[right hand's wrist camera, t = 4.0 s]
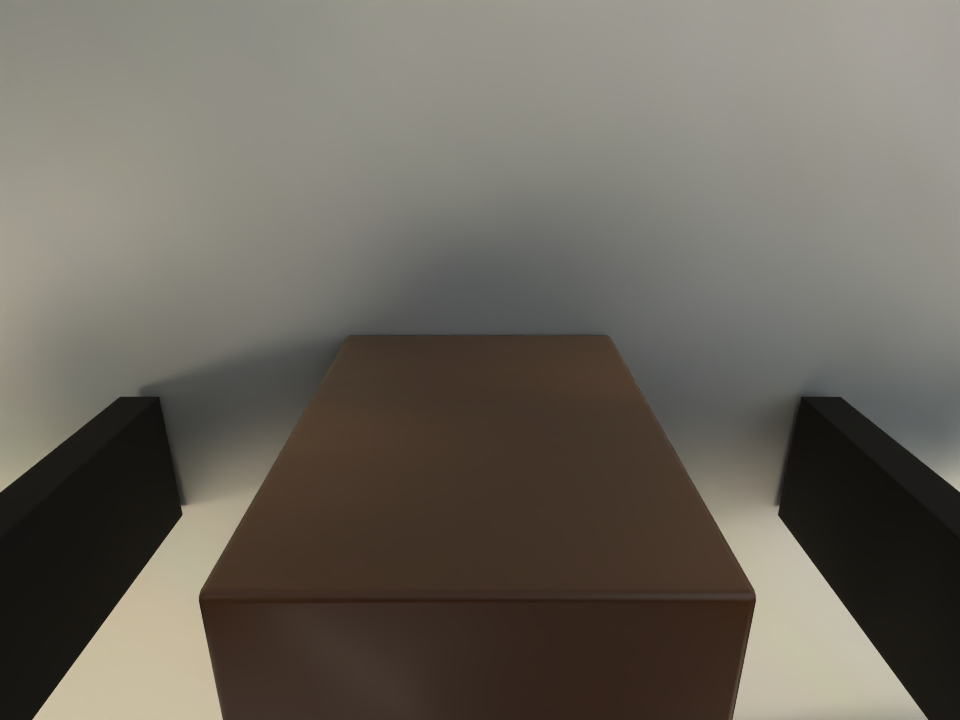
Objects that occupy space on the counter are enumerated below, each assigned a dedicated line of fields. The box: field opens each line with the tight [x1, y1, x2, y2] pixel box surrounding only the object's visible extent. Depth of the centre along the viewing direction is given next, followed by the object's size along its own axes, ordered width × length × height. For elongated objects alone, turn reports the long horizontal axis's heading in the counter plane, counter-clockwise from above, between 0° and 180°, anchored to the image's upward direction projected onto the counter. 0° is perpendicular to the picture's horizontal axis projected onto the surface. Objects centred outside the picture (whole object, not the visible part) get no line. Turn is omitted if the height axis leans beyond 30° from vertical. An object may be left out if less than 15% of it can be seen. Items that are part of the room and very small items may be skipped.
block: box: [199, 336, 756, 720], centre depth 10 cm, size 5×5×7 cm
